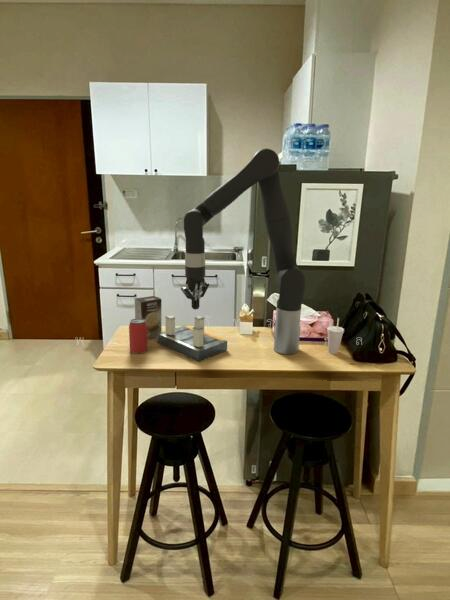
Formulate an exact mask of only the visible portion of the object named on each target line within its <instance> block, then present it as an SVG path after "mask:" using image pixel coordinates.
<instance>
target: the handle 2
mask: <svg viewBox="0 0 450 600" xmlns="http://www.w3.org/2000/svg"><path fill="white" fill-rule="evenodd" d="M192 328H193V345H194V346H197V347H201V346H203V337H204V332H205V327H204V328H203V327H200V326H195V325H194V326H192Z"/></svg>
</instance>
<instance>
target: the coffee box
mask: <svg viewBox="0 0 450 600" xmlns="http://www.w3.org/2000/svg"><path fill="white" fill-rule="evenodd" d="M136 318H141V319H144V320H145V322H146V324H147V340H148V339H151V338H157V334H158V333H161V332H163V330H162V298H160V297H158V296H155V295H151V296H144V297H136V298H134V319H136Z"/></svg>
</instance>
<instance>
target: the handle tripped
mask: <svg viewBox="0 0 450 600" xmlns="http://www.w3.org/2000/svg"><path fill="white" fill-rule="evenodd" d="M195 326H200V327H203V328H204V329H205V317H204V316H201V315H197V316H194V327H195Z"/></svg>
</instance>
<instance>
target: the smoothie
mask: <svg viewBox="0 0 450 600" xmlns="http://www.w3.org/2000/svg"><path fill="white" fill-rule="evenodd" d="M336 322H337V323H336V326H335V325H331V326H327V328H326V331H327V349H328V350H327V353H329V354H332V355H337V354H338V353H339V350H340V346H341V342H342V338H343V334H344V333H345V328H343V327H342V326H339V322H340V318H339V317H337V320H336Z"/></svg>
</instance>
